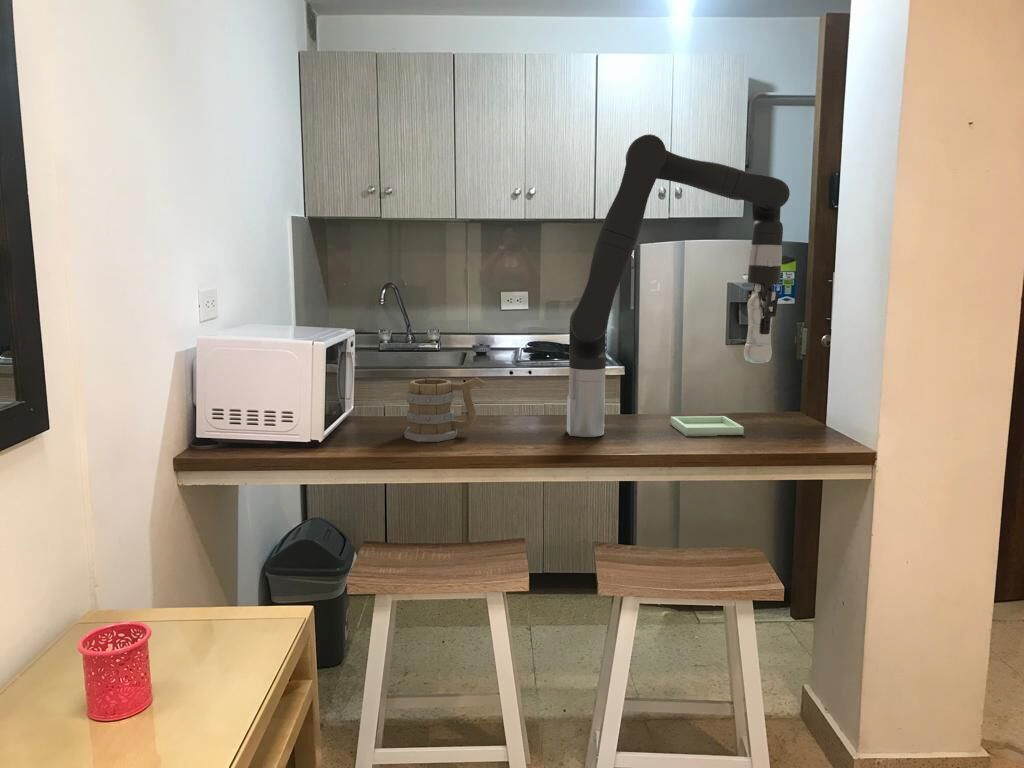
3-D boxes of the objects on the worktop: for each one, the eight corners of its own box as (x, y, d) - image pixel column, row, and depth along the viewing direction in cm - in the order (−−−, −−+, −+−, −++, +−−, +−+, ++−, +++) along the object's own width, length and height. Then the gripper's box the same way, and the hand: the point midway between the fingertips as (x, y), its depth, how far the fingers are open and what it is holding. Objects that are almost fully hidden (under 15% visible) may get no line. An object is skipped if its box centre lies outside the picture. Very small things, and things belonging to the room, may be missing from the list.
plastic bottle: (774, 365, 180) (782, 282, 177) (747, 364, 180) (753, 282, 177) (765, 361, 187) (772, 282, 184) (739, 361, 187) (745, 281, 184)
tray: (685, 436, 187) (686, 427, 187) (670, 424, 201) (670, 416, 201) (743, 435, 188) (743, 427, 188) (724, 423, 202) (724, 416, 202)
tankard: (402, 441, 180) (401, 381, 177) (409, 430, 192) (408, 373, 190) (483, 442, 180) (483, 381, 177) (486, 431, 192) (486, 374, 190)
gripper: (739, 263, 187) (734, 330, 189) (761, 263, 172) (755, 335, 175) (768, 264, 187) (762, 330, 190) (792, 264, 173) (786, 336, 176)
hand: (759, 332), depth 182 cm, fingers closed on plastic bottle, 6 cm apart
